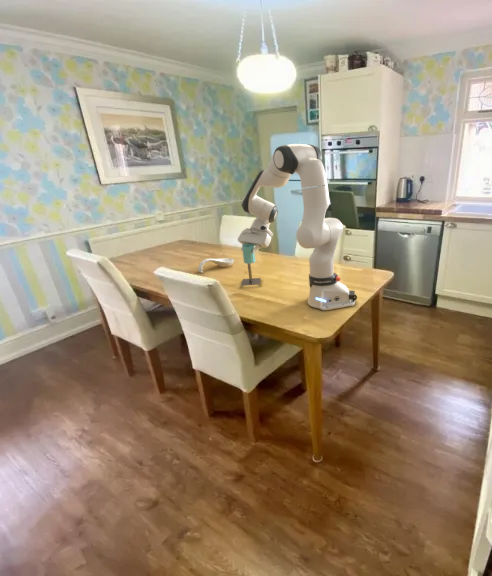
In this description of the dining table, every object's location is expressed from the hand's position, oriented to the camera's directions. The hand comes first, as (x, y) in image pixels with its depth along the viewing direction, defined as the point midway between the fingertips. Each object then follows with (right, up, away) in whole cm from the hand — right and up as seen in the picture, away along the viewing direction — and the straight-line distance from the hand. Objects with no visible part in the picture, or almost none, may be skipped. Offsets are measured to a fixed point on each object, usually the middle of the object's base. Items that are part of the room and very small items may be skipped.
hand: (247, 251), depth 169 cm
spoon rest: (-27, -7, +34) cm, 44 cm away
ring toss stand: (0, -17, +7) cm, 19 cm away
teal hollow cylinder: (+1, -5, +3) cm, 6 cm away
